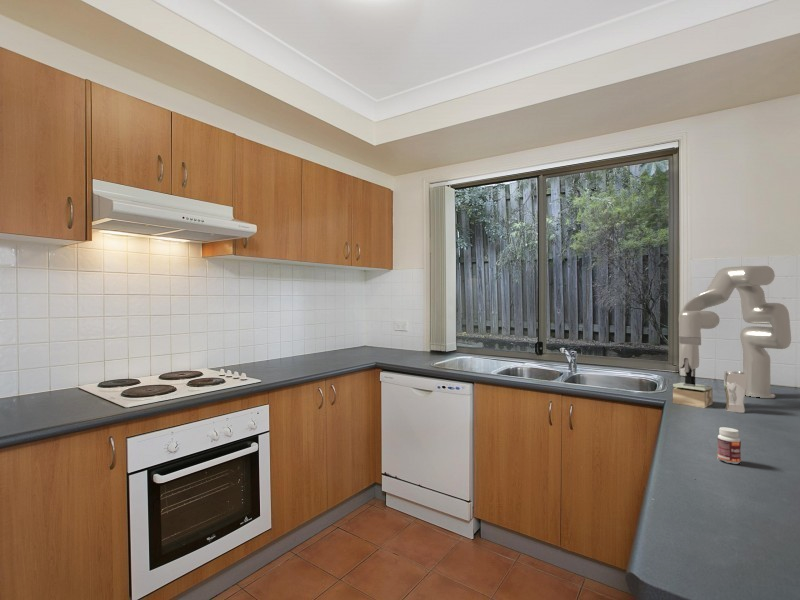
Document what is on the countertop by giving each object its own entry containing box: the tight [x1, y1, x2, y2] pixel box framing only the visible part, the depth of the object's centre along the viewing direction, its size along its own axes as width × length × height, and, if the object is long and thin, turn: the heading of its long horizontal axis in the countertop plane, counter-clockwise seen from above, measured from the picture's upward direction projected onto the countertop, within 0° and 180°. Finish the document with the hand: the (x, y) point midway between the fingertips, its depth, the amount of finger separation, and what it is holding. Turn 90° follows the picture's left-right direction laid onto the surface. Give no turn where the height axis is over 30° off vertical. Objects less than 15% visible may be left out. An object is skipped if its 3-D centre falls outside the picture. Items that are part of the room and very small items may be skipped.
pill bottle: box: [717, 426, 742, 462], centre depth 109 cm, size 5×5×8 cm
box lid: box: [672, 382, 714, 391], centre depth 175 cm, size 12×11×2 cm
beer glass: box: [723, 370, 747, 414], centre depth 162 cm, size 7×7×15 cm
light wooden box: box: [672, 387, 714, 409], centre depth 175 cm, size 12×11×6 cm
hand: (690, 385), depth 173 cm, fingers closed
